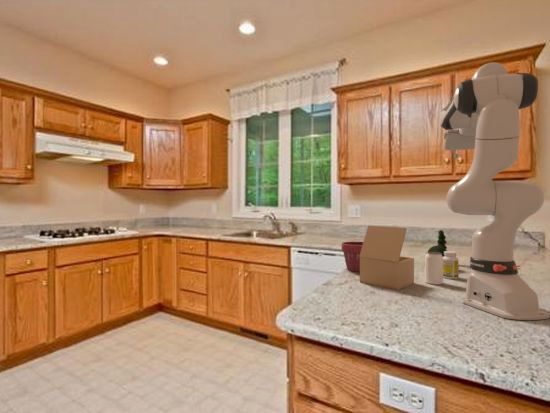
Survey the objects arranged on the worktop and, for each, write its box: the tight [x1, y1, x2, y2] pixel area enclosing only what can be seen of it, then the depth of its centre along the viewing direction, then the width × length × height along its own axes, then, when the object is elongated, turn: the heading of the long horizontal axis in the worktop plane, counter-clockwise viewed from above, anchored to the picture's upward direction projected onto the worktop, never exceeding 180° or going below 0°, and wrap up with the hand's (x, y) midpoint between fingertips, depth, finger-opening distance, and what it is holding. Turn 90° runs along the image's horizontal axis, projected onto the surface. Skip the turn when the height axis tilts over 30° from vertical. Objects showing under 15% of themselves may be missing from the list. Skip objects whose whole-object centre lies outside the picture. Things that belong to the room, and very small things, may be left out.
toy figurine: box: [427, 229, 448, 257], centre depth 161 cm, size 9×19×25 cm
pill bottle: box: [443, 250, 459, 280], centre depth 138 cm, size 6×6×11 cm
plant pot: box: [341, 241, 364, 272], centre depth 154 cm, size 14×14×13 cm
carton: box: [359, 255, 415, 290], centre depth 130 cm, size 14×16×10 cm
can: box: [424, 251, 444, 286], centre depth 129 cm, size 6×6×12 cm
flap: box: [359, 225, 407, 262], centre depth 127 cm, size 14×16×1 cm
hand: (467, 157), depth 154 cm, fingers open, 8 cm apart
